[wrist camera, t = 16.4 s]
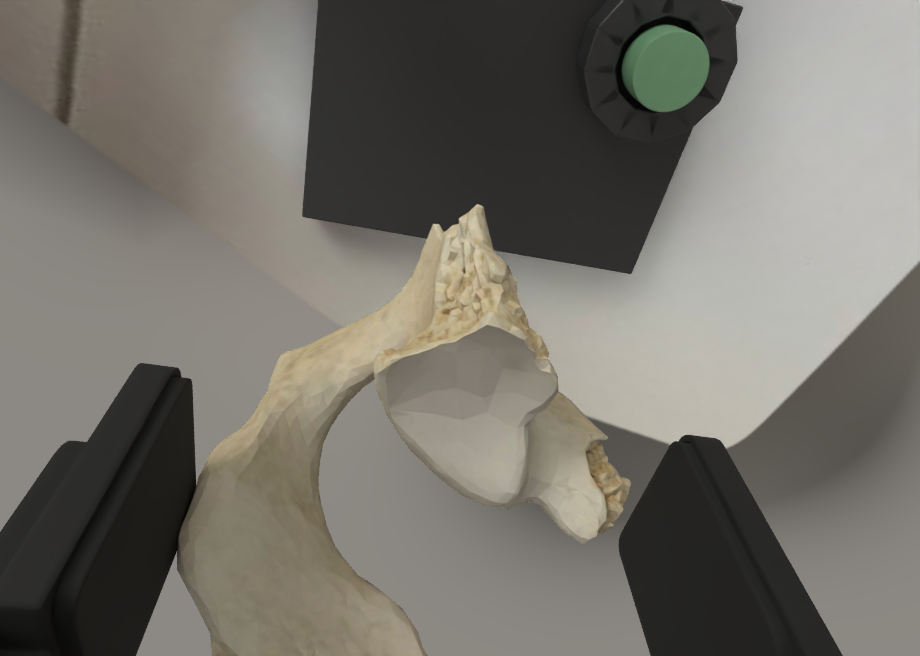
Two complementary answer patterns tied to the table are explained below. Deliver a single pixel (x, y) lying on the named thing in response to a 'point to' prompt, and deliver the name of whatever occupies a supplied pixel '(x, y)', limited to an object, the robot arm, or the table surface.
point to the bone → (421, 428)
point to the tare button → (665, 67)
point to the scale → (501, 119)
